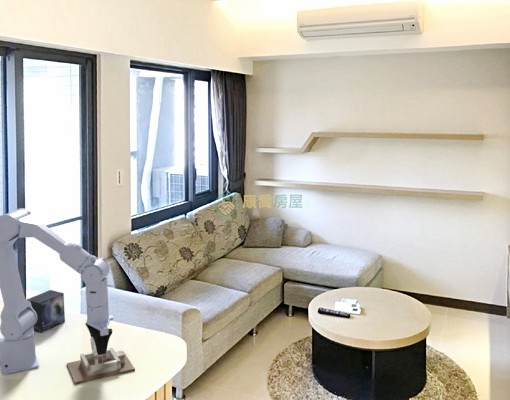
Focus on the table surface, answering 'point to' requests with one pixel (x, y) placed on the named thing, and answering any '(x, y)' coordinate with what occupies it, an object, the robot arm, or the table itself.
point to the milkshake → (97, 358)
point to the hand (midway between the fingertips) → (99, 350)
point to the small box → (48, 310)
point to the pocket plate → (99, 366)
